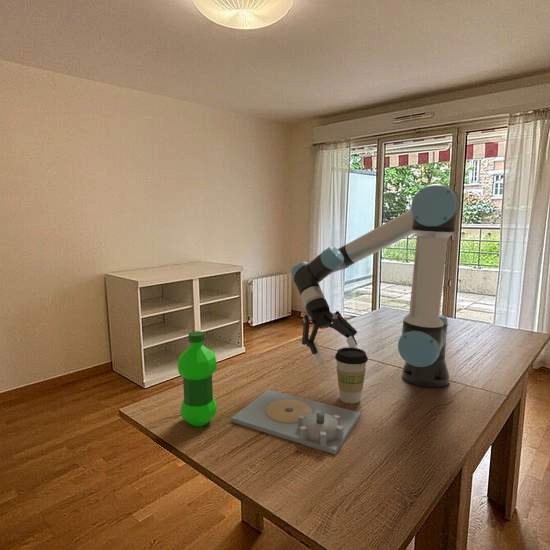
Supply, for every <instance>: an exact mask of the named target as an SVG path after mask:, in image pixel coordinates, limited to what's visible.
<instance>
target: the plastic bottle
mask: <svg viewBox="0 0 550 550" xmlns="http://www.w3.org/2000/svg"><path fill="white" fill-rule="evenodd" d="M204 341H205V331H201V330H200V331H198V330H196V331H191V332H189V333H188V342H189V343H190V346H189V347H188V348H186V349H185V350H184V351H183V352H181V354H179V357H178V361H177V370H178V373H179V375H180V376H181V377H182V378H183V381H182V382H183V383H182V384H183V400H182V402H181V406H180V407H181V408H180V416H181V417H182V419H183V420H184V421H186V422H187V423H188V424H189V425H191V426H193V427H203V426H206V425H207V424H208V423H209V422H210V421H211V420H212V419H213V418H214V417H215V416H216V414H217V402H216V399H215V397H214V396H213V393H214V391H213V375H214V374H215V372H217V367H218V365H217V357H216V354H215V353H214V352H213V351H212V350H211V349H210V348H208V347H206V346H205V345H204V344H203V342H204Z"/></svg>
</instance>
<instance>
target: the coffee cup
mask: <svg viewBox="0 0 550 550" xmlns="http://www.w3.org/2000/svg"><path fill="white" fill-rule="evenodd" d="M334 359H335V360H336V373H337V385H338V392H339V400H340V401H341V402H344V403H345V404H357V403H359V402H361V397H362V391H363V388H364V383H365V382H364V381H365V376H366V369H367V368H366V365H367V362H368V361H369V358H368V356H367V353H366V351H365V350H363V349H360V348H359V347H357V348H350V347H349V346H348V347H342V348H339V349H337V351H336V354H335V355H334Z"/></svg>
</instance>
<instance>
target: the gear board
mask: <svg viewBox="0 0 550 550" xmlns="http://www.w3.org/2000/svg"><path fill="white" fill-rule="evenodd" d="M361 416H362V415H361V412H359V411H355V410H351V409H347V408H342V407H339V406H336V405H331V404H327V403H323V402H320V401H316V400H312V399H307V398H303V397H300V396H296V395H292V394H288V393H283V392H279V391H276V390H272V389H267V390H266V391H264V392H263V393H262V394H260V395H259V396H258V397H257V398H255V399H254V400H253V401H251V402H250V403H249V404H248V405H246V406H245V407H243V408H242V409H241V410H239V411H238V412H237V413H236V414H234V416H232V417H231V423H234V424H237V425H239V426H244V427H245V428H249V429H253V430H256V431H259V432H261V433H266V434H268V435H272V436H275V437H278V438H282V439H284V440H288V441H289V442H290V441H291V442H295V443H297V444H301V445H303V446H306V447H309V448H313V449H316V450H319V451H323V452H326V453H329V454H332V455H337V453H338V451H340V449H341V447H342V445H343V444H344V442H345V441H346V439H347V438H348V437H349V435H350V433H351V432H352V430H353V429H354V428H355V426H356V424H357V422H358V421H359V420H360V418H361Z"/></svg>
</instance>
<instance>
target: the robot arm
mask: <svg viewBox="0 0 550 550" xmlns="http://www.w3.org/2000/svg"><path fill="white" fill-rule="evenodd" d="M460 209H461V200H460V197H459V194H458V193H457V192H456V191H455V190H454V189H452V188H451V187H449V186H448V185H445V184H440V183H434V184H428V185H425V186H423V187H422V188H420V189H419V190H417V192H416V193H415V195H414V196H413V199H412V200H411V205H410V208H409V209H408V210H407V211H405V212H404V213H401V214H400V215H398V216H396V217H394V218H392V219H391V220H389V221H386V222H385V223H383V224H381V225H379V226H377V227H376V228H374V229H372V230H369V231H368V232H366V233H364V234H363V235H361V236H359V237H357V238H356V239H354V240H352V241H350V242H349V243H346V244H345V245H342V246H340V247H339V248H337V247H335V246H329V247H327V248H326V249H324V250H322V251H321V253H319V254H318V255H317V256H316V257H315V258H313V260H311V261H310V262H306V261H302V262H298V263H297V264H295V265H294V266H293V267H292V268H291V271H290V272H291V276H292V280H293V283H294V284H295V286H296V289H297V291H298V293H299V296H300V298H301V300H302V303H303V305H304V307H305V311H306V312H307V314H305V315H304V316H303V318H302V319H301V321H302V325H303V327H302V336H301V337H302V338H301V344H302V345H303V346H305V345H306V347H308V348H309V350H310V352H311V354H312V355H314V356H315V359H316V361H317V363H318V365H319V366H321V365H322V364H323V363H324V362H325V359H324V357H323V353H322V351H321V349H320V347H319V344H318V342H317V341H315V340H316V336H317V334H318V331H319V329H323V328H330V329H333V330H334V331H336V332H338V333H339V334H341V335H342V336H343V337H345V338H346V339H345V340H346V343H347V345H348V347H350V348H358V342H357V340H356V338H355V335H356V334H357V333H358V330H356V329H355V328H354V327H353V326H352V324H350V323H349V322H348V321H347V319H345V318H344V317H343V316H342V314H341V312H340V311H339V310H336V311H335V312H334V313H332V312H331V310H330V306H329V303H328V302H327V299H326V298H325V295H324V292H323V290H322V288H321V286H320V284H319V283H320V282H322V281H323V280H324V279H325V278H327V277H329V275H331V274H334V273H336V272H339V271H341V270H345V269H346V270H347V268H349V267H350V266H352V265H354V264H356V263H357V262H359V261H362V260H363V259H365V258H367V257H369V256H372V255H373V254H376V253H377V252H380V251H382V250H384V249H386V248H387V247H389V246H391V245H393V244H394V245H395V243H397V242H399V241H401V240H403V239H405V238H407V237H409V236H411V235H413V234H415V236H416V240H415V241H416V243H415V249H414V250H415V251H414V262H413V270H412V271H413V272H412V282H411V291H410V301H409V310H408V314H407V315H405V316H404V317H403V320H402V321H403V322H402V330H401V335H400V337H399V339H398V342H397V349H398V350H397V351H398V353H399V355H400V357H401V358H402V359H403V360H404V362H405V363H404V365H403V367H402V371H401V372H402V373H401V376H402V378H403V380H404V381H406V382H408V383H410V384H412V385H415V386H419V387H422V386H423V387H424V388H430V387H432V389H433V387H437V388H442V386H443V387H446V386H447V385H449V383H450V373H449V370H448V366H447V363H446V348H447V347H446V346H447V335H448V334H447V332H448V327H449V324H448V318H447V316H445V315H443V314H440V311H441V302H442V295H443V285H444V277H445V269H446V268H445V267H446V260H447V249H448V244H449V243H448V241H449V238H450V237H451V236H452V235H454V233H455V231H456V224H457V223H456V221H457V217H458V216H457V215H458V214H459V212H460ZM310 322H311V323H312V324H313V327H312V330H311V333H310ZM445 385H446V386H445Z"/></svg>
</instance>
